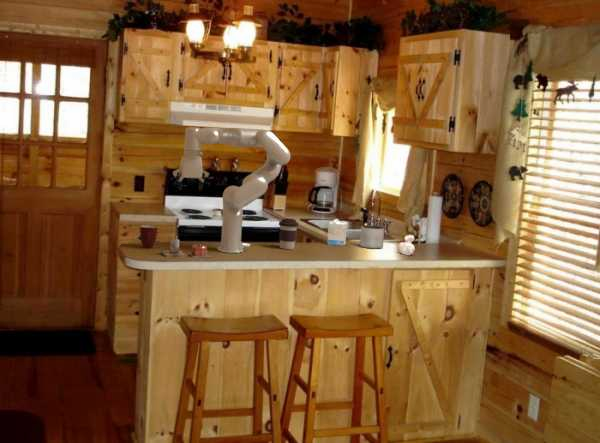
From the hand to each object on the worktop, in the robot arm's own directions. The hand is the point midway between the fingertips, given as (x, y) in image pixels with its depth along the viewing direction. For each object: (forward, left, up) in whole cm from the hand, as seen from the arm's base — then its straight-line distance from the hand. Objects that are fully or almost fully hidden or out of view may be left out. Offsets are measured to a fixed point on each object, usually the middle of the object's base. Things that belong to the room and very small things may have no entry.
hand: (190, 190), depth 386 cm
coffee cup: (-55, -5, -29) cm, 62 cm away
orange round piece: (-2, +13, -29) cm, 32 cm away
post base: (+9, +10, -29) cm, 32 cm away
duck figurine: (-115, +14, -29) cm, 119 cm away
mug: (+16, -9, -29) cm, 35 cm away
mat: (-2, +13, -29) cm, 32 cm away
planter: (-106, -7, -29) cm, 110 cm away
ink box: (-90, -17, -29) cm, 96 cm away
